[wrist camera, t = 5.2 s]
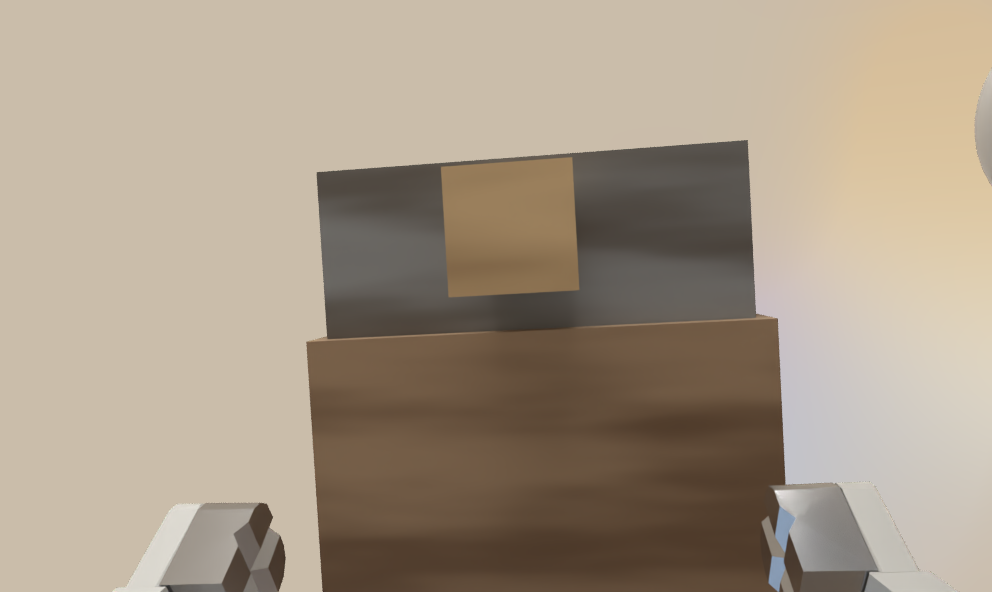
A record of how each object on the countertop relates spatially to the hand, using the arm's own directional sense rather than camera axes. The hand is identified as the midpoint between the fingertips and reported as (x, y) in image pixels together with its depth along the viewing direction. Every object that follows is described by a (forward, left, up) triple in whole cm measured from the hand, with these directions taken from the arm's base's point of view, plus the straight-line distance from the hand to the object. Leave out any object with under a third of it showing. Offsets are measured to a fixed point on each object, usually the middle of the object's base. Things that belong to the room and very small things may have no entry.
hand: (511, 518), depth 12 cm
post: (+8, -13, -24) cm, 28 cm away
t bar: (+6, -9, +2) cm, 11 cm away
